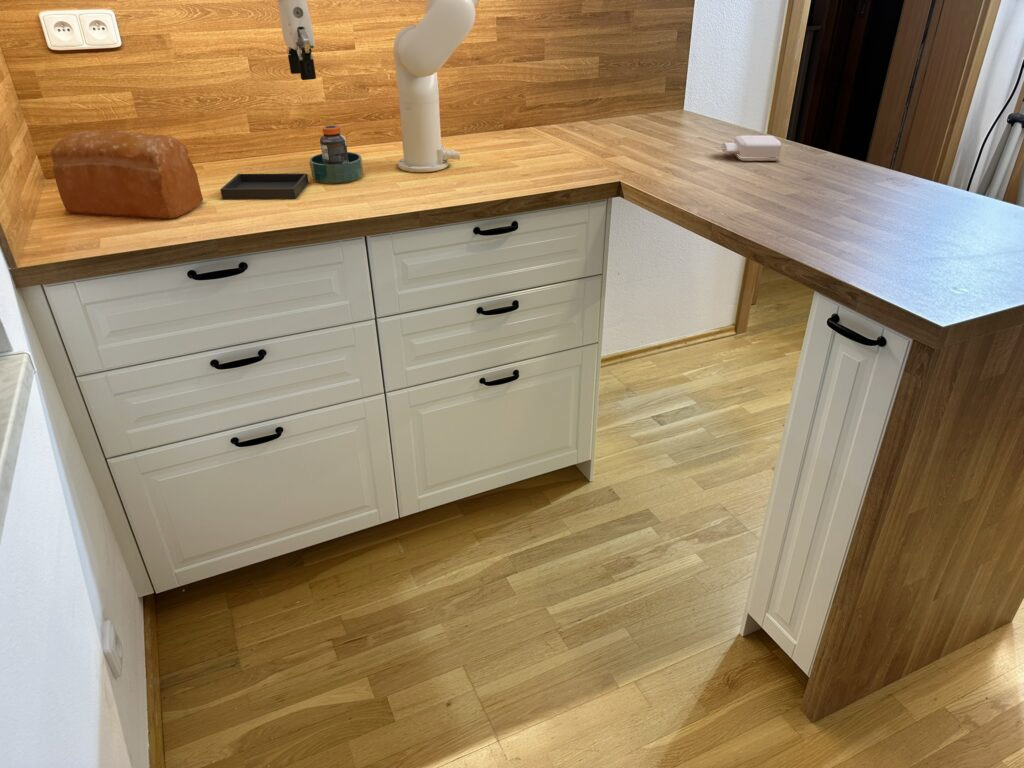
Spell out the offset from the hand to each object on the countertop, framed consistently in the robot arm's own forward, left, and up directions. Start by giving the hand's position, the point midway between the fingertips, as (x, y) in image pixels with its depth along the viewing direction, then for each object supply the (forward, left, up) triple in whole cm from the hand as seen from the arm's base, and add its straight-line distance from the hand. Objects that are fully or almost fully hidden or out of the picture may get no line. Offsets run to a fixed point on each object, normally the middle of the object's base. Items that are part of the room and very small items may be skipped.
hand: (303, 76), depth 165 cm
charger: (-107, -14, -22) cm, 110 cm away
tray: (+9, +13, -22) cm, 27 cm away
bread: (+33, +25, -22) cm, 47 cm away
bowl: (-5, +2, -22) cm, 23 cm away
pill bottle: (-5, +2, -22) cm, 23 cm away
